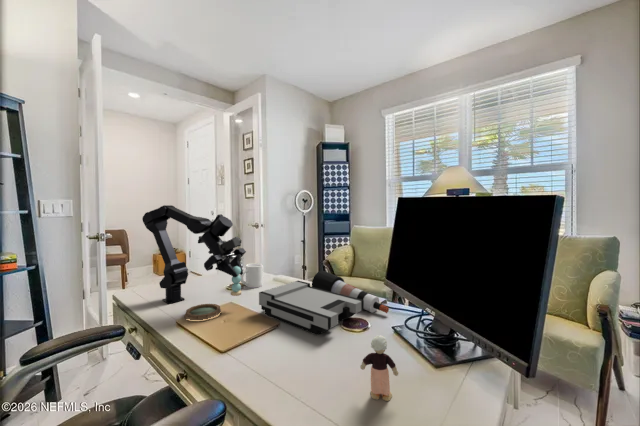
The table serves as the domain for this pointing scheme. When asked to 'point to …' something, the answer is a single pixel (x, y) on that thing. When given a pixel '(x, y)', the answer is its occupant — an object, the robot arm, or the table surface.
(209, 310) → the groove tray
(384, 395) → the grandmother figurine
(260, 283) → the mug
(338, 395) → the table surface
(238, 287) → the bead stack
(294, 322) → the grey boxy piece
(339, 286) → the cable
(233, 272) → the robot arm
